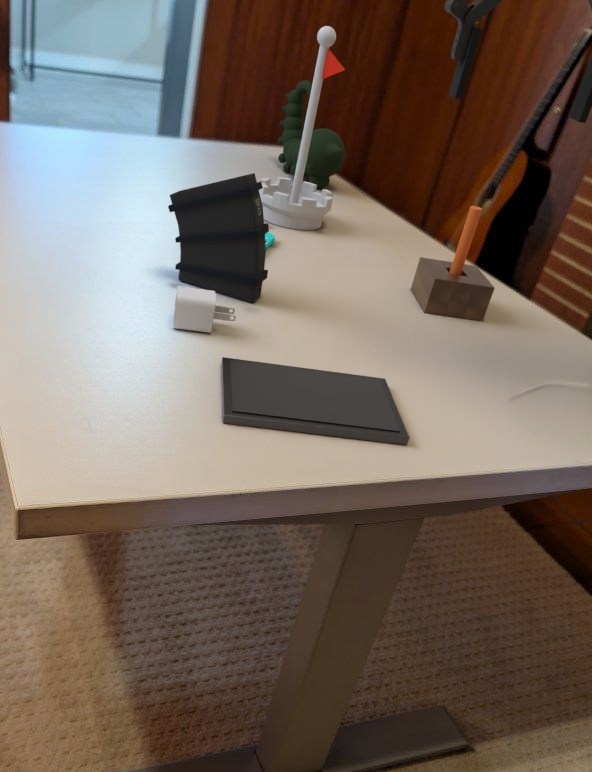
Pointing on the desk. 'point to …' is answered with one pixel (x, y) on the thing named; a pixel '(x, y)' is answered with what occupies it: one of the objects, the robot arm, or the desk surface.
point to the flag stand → (303, 160)
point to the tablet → (309, 401)
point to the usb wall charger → (198, 310)
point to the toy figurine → (323, 146)
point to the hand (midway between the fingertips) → (516, 109)
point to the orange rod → (465, 240)
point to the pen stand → (451, 290)
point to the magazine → (222, 236)
